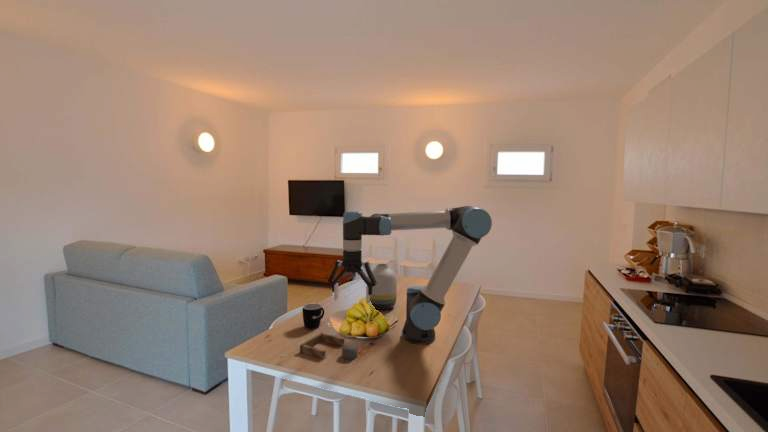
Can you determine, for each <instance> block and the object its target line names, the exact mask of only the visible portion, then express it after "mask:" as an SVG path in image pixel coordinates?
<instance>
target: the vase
mask: <svg viewBox="0 0 768 432" xmlns="http://www.w3.org/2000/svg"><path fill="white" fill-rule="evenodd" d="M371 271H372V273H373V276H374V278H375V280H376V282H377V284H376V285H375V286H373V287H372V294H371V295H370V301H371V303H372V305H373V306H374V307H375V308H376V310H388V309H391V308H393V307H394V306H395V305H396V302H397V299H398V298H397V296H398V293H397V292H398V278H397V274H396V272H395V271H393V270H392V268H390V267H389V265H388V264H387V263H377V264H376V266H375V268H372V269H371ZM367 277H368V279H369V276H368V275H367ZM369 280H370V279H369ZM375 308H374V309H375Z"/></svg>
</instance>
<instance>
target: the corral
mask: <svg viewBox="0 0 768 432" xmlns="http://www.w3.org/2000/svg"><path fill="white" fill-rule="evenodd" d="M321 342H325V343H328V344H332V345H336V346H340V347H343V346H345V338H344V337H341V336H337V335H333V334H328V333H324V332H320V333H319V334H317V335H315V336H314V337H311V338H310V339H308V340H307V341H305V342H304V343H302V344H300V345H299V353H300V354H301V353H302V354H304V355H308V356H311V357H315V358H318V359H322V360H325V359H326V354H327V353H326V350H325V349H321V348H318V347H315V346H317V345H318V344H319V343H321Z"/></svg>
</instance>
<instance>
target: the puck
mask: <svg viewBox="0 0 768 432" xmlns="http://www.w3.org/2000/svg"><path fill="white" fill-rule="evenodd" d="M357 357H358V346H357V345H354V344H346V345H345V344H344V346H341V358H342V359H344V360H346V361H353V360H355V359H356V358H357Z"/></svg>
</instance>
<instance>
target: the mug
mask: <svg viewBox="0 0 768 432" xmlns="http://www.w3.org/2000/svg"><path fill="white" fill-rule="evenodd" d="M324 315H325V309H324V307H322V304H320V303H313V302H312V303H306V304H304V305H303V306H302V319H303V325H304V327H305V329H307V330H316V329H318V328H319V327H320V324H321V321H322V319H323V318H324Z"/></svg>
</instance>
